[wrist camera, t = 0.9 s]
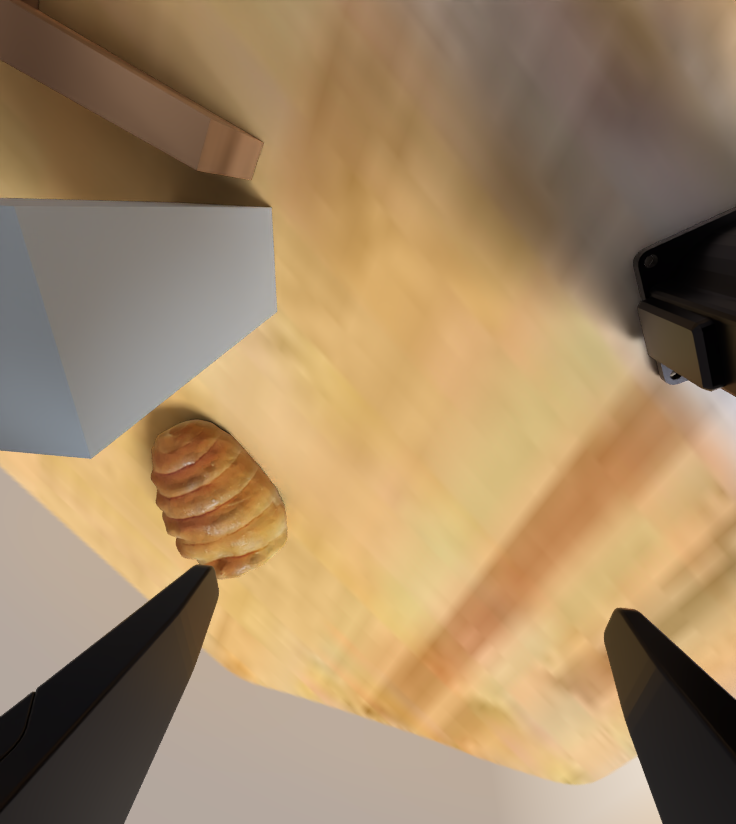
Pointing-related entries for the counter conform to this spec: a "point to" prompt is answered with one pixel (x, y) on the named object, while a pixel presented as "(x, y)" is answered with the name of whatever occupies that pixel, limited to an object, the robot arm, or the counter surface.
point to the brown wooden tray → (122, 93)
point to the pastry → (216, 499)
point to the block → (119, 310)
